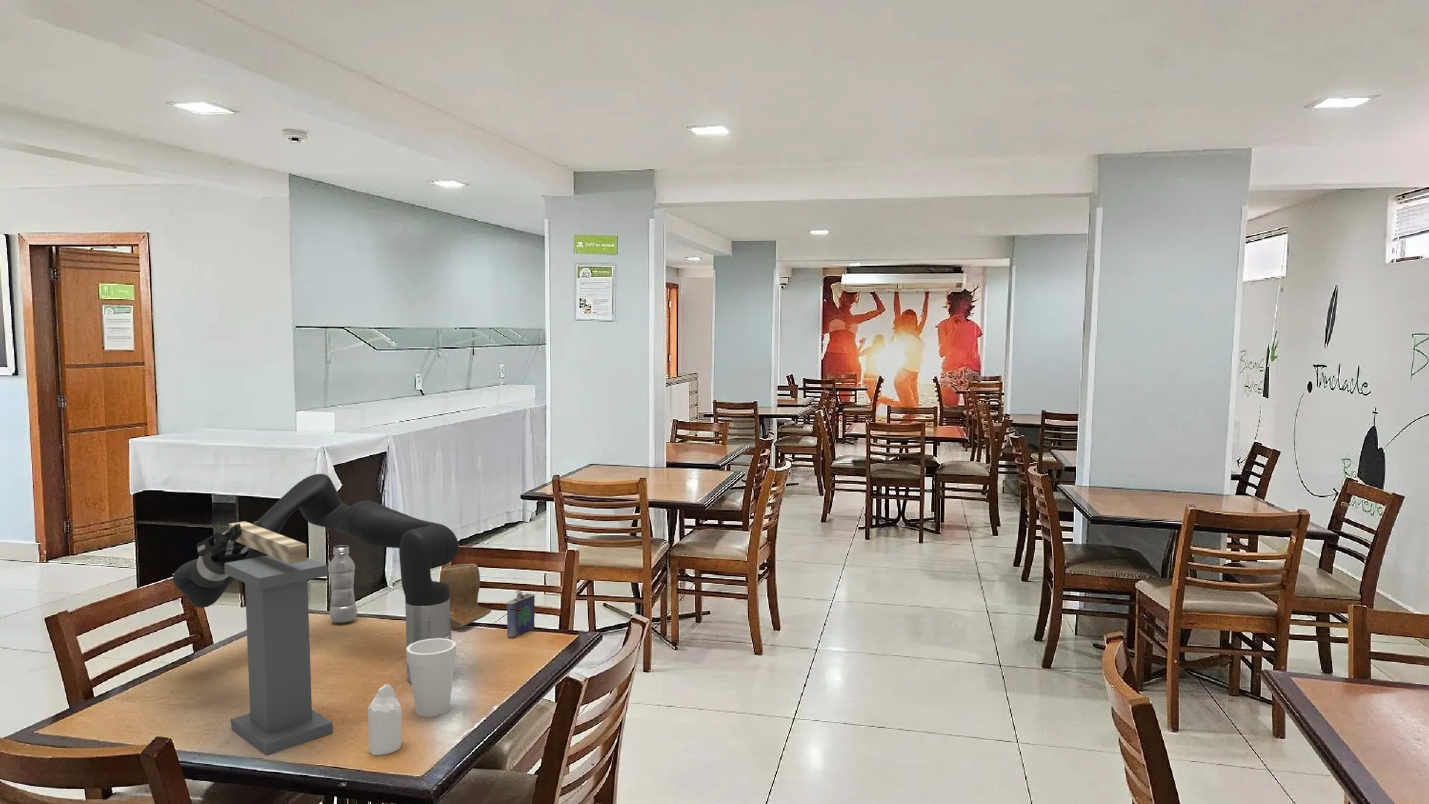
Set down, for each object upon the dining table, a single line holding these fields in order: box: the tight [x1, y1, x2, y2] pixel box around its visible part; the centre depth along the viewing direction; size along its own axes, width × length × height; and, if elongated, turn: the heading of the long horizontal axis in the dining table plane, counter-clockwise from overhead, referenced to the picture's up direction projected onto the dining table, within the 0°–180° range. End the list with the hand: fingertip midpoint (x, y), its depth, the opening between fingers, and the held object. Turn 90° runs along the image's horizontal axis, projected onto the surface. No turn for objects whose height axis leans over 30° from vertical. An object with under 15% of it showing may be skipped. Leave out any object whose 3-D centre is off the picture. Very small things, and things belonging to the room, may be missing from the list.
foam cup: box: [405, 638, 457, 718], centre depth 173 cm, size 10×9×13 cm
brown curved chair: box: [440, 563, 492, 630], centre depth 228 cm, size 15×12×15 cm
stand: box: [224, 555, 334, 756], centre depth 163 cm, size 16×12×32 cm
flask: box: [506, 590, 536, 639], centre depth 219 cm, size 9×3×11 cm, turn 151°
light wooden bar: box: [228, 520, 308, 564], centre depth 165 cm, size 28×3×3 cm, turn 49°
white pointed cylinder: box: [367, 683, 403, 756], centre depth 157 cm, size 6×12×6 cm
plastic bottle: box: [327, 544, 358, 624], centre depth 228 cm, size 6×7×20 cm
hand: (248, 527), depth 170 cm, fingers closed on light wooden bar, 3 cm apart
